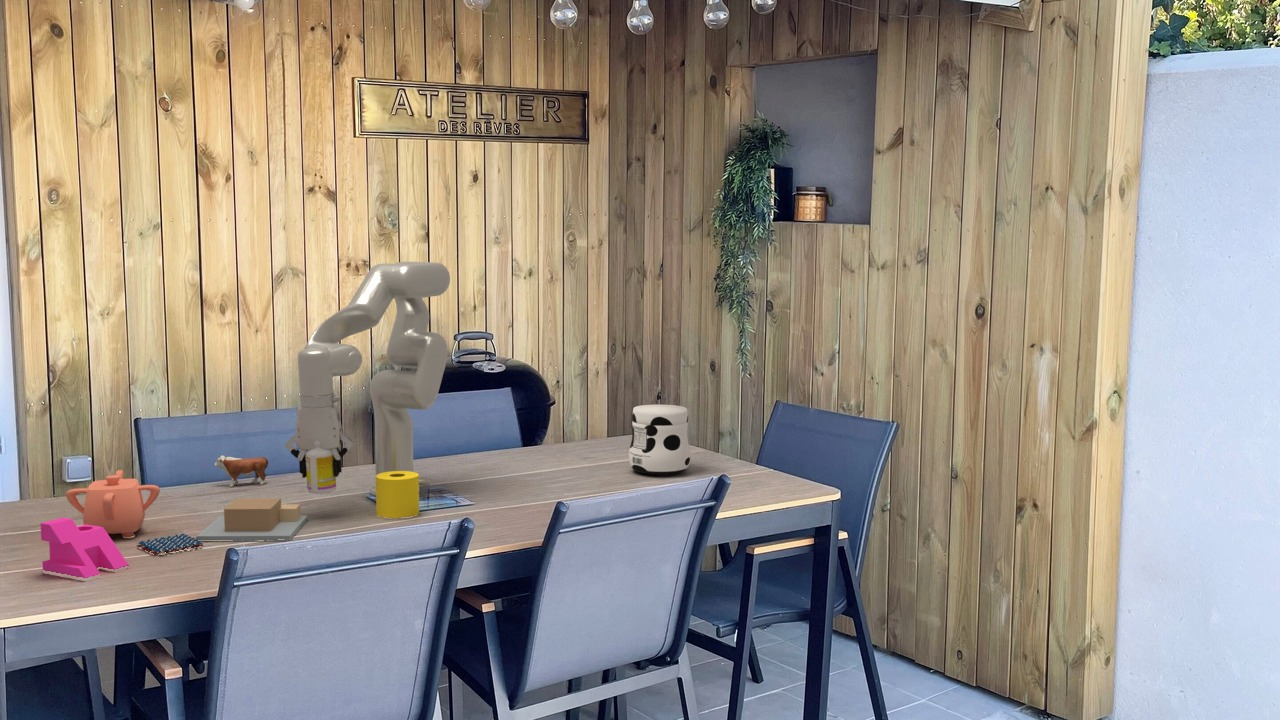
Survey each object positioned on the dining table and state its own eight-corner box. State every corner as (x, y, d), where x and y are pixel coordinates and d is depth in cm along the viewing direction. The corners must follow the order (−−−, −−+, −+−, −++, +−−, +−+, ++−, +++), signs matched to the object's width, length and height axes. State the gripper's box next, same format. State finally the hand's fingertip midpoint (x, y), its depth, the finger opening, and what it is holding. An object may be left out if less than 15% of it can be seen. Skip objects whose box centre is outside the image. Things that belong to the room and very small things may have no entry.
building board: (307, 520, 282) (306, 494, 281) (289, 541, 264) (289, 513, 263) (220, 521, 281) (219, 494, 280) (196, 541, 263) (195, 513, 262)
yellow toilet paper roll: (419, 508, 295) (418, 470, 293) (419, 518, 285) (418, 479, 284) (377, 509, 293) (376, 471, 292) (375, 519, 283) (374, 480, 282)
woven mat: (134, 550, 258) (134, 541, 257) (183, 541, 265) (183, 532, 265) (155, 560, 250) (155, 550, 250) (205, 550, 258) (204, 541, 257)
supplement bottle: (342, 488, 287) (339, 435, 285) (326, 495, 281) (323, 441, 279) (317, 486, 289) (315, 433, 287) (301, 493, 283) (298, 439, 281)
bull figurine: (215, 485, 318) (214, 454, 317) (268, 482, 323) (267, 451, 322) (214, 488, 314) (213, 457, 313) (268, 485, 318) (268, 455, 318)
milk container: (694, 467, 346) (695, 404, 344) (685, 479, 329) (686, 414, 327) (634, 464, 349) (635, 402, 347) (623, 477, 332) (623, 412, 330)
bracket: (42, 574, 239) (40, 523, 237) (87, 561, 248) (84, 511, 247) (85, 582, 233) (83, 530, 232) (129, 569, 243) (126, 518, 241)
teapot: (110, 546, 258) (108, 486, 257) (59, 537, 265) (56, 478, 264) (171, 529, 273) (169, 472, 272) (122, 521, 280) (119, 465, 279)
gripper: (357, 397, 286) (361, 471, 289) (283, 399, 285) (287, 472, 288) (351, 403, 279) (355, 479, 281) (275, 405, 278) (279, 480, 280)
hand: (321, 475), depth 285 cm, fingers closed on supplement bottle, 6 cm apart
